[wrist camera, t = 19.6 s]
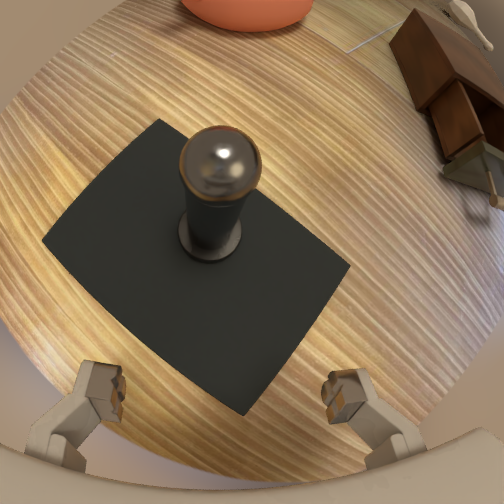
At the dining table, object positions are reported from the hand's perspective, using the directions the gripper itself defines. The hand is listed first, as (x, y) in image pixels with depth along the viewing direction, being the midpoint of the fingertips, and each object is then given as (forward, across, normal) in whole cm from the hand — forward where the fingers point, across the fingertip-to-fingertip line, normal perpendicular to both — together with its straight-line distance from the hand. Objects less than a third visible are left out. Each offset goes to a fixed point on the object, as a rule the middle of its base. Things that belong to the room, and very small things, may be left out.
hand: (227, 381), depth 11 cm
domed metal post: (+12, +1, +1) cm, 13 cm away
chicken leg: (+62, -63, -47) cm, 100 cm away
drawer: (+22, -30, -9) cm, 38 cm away
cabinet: (+31, -30, -17) cm, 47 cm away
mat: (+12, +2, +2) cm, 12 cm away
